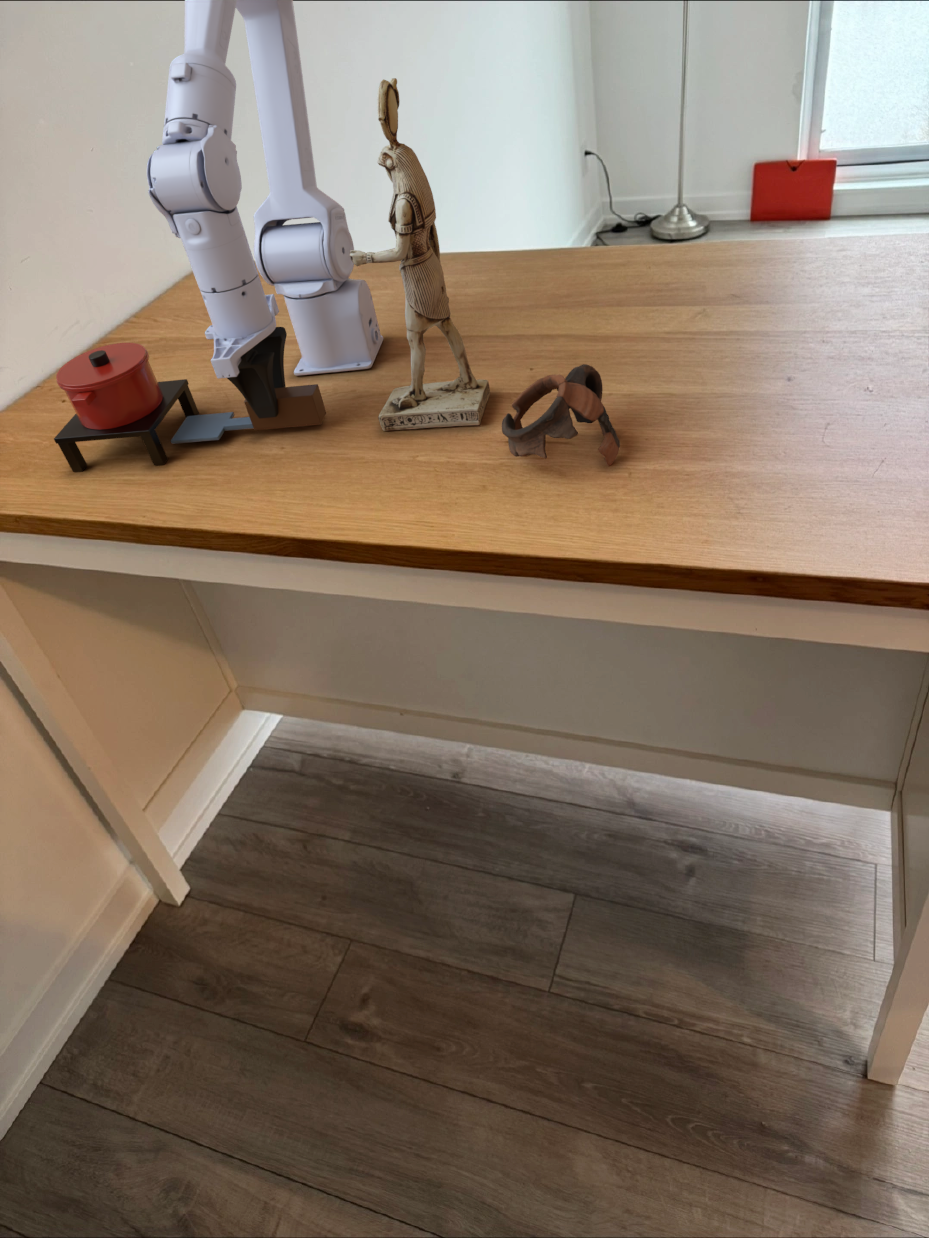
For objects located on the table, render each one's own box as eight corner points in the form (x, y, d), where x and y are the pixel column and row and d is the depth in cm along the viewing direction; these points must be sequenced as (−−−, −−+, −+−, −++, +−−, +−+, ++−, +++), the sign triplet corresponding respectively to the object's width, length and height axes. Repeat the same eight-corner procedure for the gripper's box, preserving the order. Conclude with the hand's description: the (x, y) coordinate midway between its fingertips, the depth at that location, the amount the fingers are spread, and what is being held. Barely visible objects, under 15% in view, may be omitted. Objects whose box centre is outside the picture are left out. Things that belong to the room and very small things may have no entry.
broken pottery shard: (612, 490, 76) (556, 426, 72) (532, 510, 83) (477, 453, 79) (648, 392, 81) (598, 327, 77) (570, 419, 88) (520, 360, 84)
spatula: (329, 406, 94) (321, 377, 92) (318, 431, 90) (308, 402, 88) (188, 419, 97) (177, 391, 95) (171, 444, 93) (159, 415, 91)
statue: (397, 397, 95) (323, 81, 75) (492, 391, 92) (441, 62, 72) (381, 432, 89) (297, 103, 70) (481, 427, 87) (423, 84, 67)
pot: (202, 409, 100) (167, 322, 93) (162, 469, 91) (120, 378, 84) (116, 417, 102) (76, 333, 96) (68, 476, 93) (20, 388, 87)
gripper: (214, 257, 89) (257, 379, 98) (161, 317, 78) (214, 448, 87) (279, 248, 88) (316, 373, 96) (234, 309, 77) (280, 443, 86)
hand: (272, 408), depth 92 cm, fingers closed on spatula, 2 cm apart
